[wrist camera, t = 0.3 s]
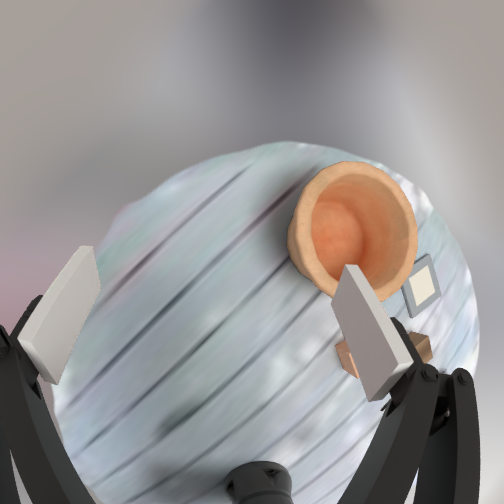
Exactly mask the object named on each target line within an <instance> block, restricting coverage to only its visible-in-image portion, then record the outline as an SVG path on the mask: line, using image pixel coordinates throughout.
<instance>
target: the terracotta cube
mask: <svg viewBox="0 0 504 504" xmlns="http://www.w3.org/2000/svg"><path fill="white" fill-rule="evenodd" d="M335 347H336V350H337V352H338V355H339V358H340V360H341V363H342V366H343V368H344V370H346V371H347V372H348V373H350V374H351V375H353V376H354V377H356V378H357V379H358V378H359V374H358V371H357V369H356V366H355V363H354V361H353V358H352V356H351V353H350V350H349V348H348V345H347V343H346V340H344V341H343V342H341V343H339V344H337V345H336V346H335Z"/></svg>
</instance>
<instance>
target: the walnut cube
mask: <svg viewBox="0 0 504 504" xmlns="http://www.w3.org/2000/svg"><path fill="white" fill-rule="evenodd" d="M408 336H409V337H410V341H412V343H413V344H414V346H415V348H416V350H417V352H418V353H419V355H420V357H421V359H422V361H423V362H424V363H427V362H428V361H429V360H430V359H432V358H433V356H432V351H431V346H430V341H429V336H427V335H423V334H419V333H415V332H411V333H410V334H408Z"/></svg>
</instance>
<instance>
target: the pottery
mask: <svg viewBox="0 0 504 504" xmlns="http://www.w3.org/2000/svg"><path fill="white" fill-rule="evenodd" d="M287 248H288V252H289V255H290V259H291V261H292V262H293V264H294V265H295V267H296V268H297V269H298V271H299V272H300V273H301V274H302V275H304V276H305V277H307V278H308V279H309V280H311V281H312V282H313V283H314V285H315V286H316V287H317V288H318V289H320V290H321V291H322V292H324V293H325V294H327V295H328V296H330V297H331V298H333V297H334V294H335V291H336V289H337V286H338V283H339V280H340V278H341V275H342V272H343V269H344V266H345V264H348V265H358V267H359V268H360V270H361V271H362V273H363V275H364V276H365V278H366V279H367V281H368V282H369V284H370V286H371V287H372V289H373V291H374V292H375V294H376V296H377V297H378V299H379V301H380V302H383V301H384V300H385V299H387V298H388V297H390V296H391V295H392V294H394V293H395V292H396V291H398V290H399V289H400V288H401V286H402V285H403V283H404V282H405V280H406V279H407V277H408V276H409V274H410V273H411V271H412V268H413V264H414V261H415V257H416V253H417V250H418V243H417V224H416V220H415V217H414V213H413V210H412V207H411V204H410V202H409V201H408V199H407V197H406V196H405V194H404V192H403V191H402V189H401V188H400V186H399V185H398V184H397V183H396V182H395V181H394V180H393V179H392V178H391V177H389V176H388V175H387V174H386V173H385V172H384V171H382V170H380V169H378V168H376V167H374V166H371V165H369V164H367V163H364V162H349V161H341V162H339V163H336V164H334V165H331V166H329V167H326V168H324V169H322V170H321V171H319V172H318V174H317V175H316V176H315V177H314V178H313V179H312V180H311V181H310V182H309V183H308V184H307V185H306V186H305V187H304V188H303V191H302V193H301V195H300V198H299V200H298V203H297V205H296V208H295V210H294V215H293V216H292V219H291V221H290V224H289V226H288V228H287Z"/></svg>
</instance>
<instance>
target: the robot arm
mask: <svg viewBox="0 0 504 504" xmlns="http://www.w3.org/2000/svg"><path fill="white" fill-rule="evenodd" d="M101 289H102V288H101V283H100V279H99V274H98V270H97V265H96V260H95V254H94V249H93V246H80V247H79V249H78V250H77V251H76V252H75V254H74V255H73V256H72V258H71V259H70V260H69V261H68V263H67V264H66V265H65V267H64V268H63V269H62V271H61V272H60V273H59V275H58V276H57V278H56V279H55V280H54V281H53V283H52V284H51V286H50V287H49V289H48V290H47V291H46V293H45V295H44V296H43V295H39V296H37V297H36V298H35V299H34V300H32V302H31V303H30V304H29V306H28V307H27V310H26V311H25V312H24V313H23V315H22V317H21V318H20V320H19V321H18V323H17V325H16V326H15V328H14V329H13V331H12V333H11V334H10V336H9V335H8V334H7V332H6V330H5V328H4V327H3V326H2V325H0V504H21V502H20V499H19V495H18V491H17V486H16V482H15V478H14V473H13V467H12V461H11V454H10V450H11V453H12V456H13V459H14V462H15V464H16V467H17V469H18V472H19V475H20V477H21V479H22V482H23V484H24V486H25V489H26V491H27V493H28V495H29V497H30V499H31V501H32V503H33V504H96V503H95V502H94V500H93V499H92V497H91V496H90V494H89V493H88V491H87V489H86V488H85V486H84V484H83V483H82V481H81V479H80V477H79V476H78V474H77V472H76V470H75V468H74V467H73V465H72V463H71V461H70V459H69V457H68V455H67V453H66V451H65V449H64V447H63V444H62V442H61V440H60V438H59V436H58V433H57V431H56V429H55V426H54V424H53V421H52V419H51V416H50V414H49V411H48V408H47V406H46V403H45V400H44V397H43V394H42V391H41V388H40V385H39V382H38V381H37V377H38V374H40V375H41V377H42V378H43V379H44V381H46V382H49V383H52V384H55V385H58V384H59V381H60V379H61V376H62V373H63V371H64V368H65V366H66V364H67V361H68V359H69V356H70V354H71V352H72V349H73V347H74V345H75V342H76V340H77V338H78V336H79V334H80V331H81V329H82V327H83V325H84V323H85V321H86V319H87V317H88V315H89V313H90V311H91V309H92V307H93V305H94V303H95V301H96V299H97V297H98V295H99V293H100V291H101ZM331 306H332V308H333V310H334V313H335V315H336V318H337V320H338V323H339V325H340V328H341V330H342V333H343V335H344V338H345V340H346V343H347V345H348V348H349V350H350V353H351V356H352V358H353V361H354V363H355V366H356V369H357V371H358V374H359V377H360V380H361V382H362V385H363V388H364V391H365V393H366V396H367V399H368V402H371V401H377V400H382V399H383V398H384V397H385V396H386V395H387V394H388V393H390V395H391V399H390V400H389V401H388V402H387V403H386V404H385V405H384V406H383V408H382V409H381V410H380V411H383V410H384V409H385V408H386V409H385V412H384V414H383V416H382V419H381V421H380V424H379V426H378V428H377V430H376V433H375V435H374V437H373V439H372V441H371V443H370V446H369V448H368V450H367V452H366V454H365V456H364V458H363V460H362V462H361V463H360V465H359V467H358V469H357V471H356V473H355V475H354V476H353V478H352V480H351V482H350V483H349V485H348V487H347V488H346V490H345V492H344V493H343V495H342V497H341V498H340V500H339V501H338V503H337V504H404V502H405V500H406V498H407V495H408V493H409V491H410V488H411V486H412V483H413V481H414V478H415V475H416V473H417V470H418V467H419V470H418V477H417V484H416V491H415V496H414V502H413V504H478V499H479V486H480V435H479V422H478V411H477V403H476V396H475V389H474V382H473V379H472V376H471V375H470V373H469V372H468V371H467V370H465V369H463V368H457V369H455V370H454V371H453V373H452V374H451V375H447V374H439V372H438V370H437V369H436V368H435V367H433V366H432V365H430V364H427V363H424V362H423V361H422V359H421V357H420V355H419V353H418V352H417V350H416V348H415V346H414V344H413V343H412V341H410V337H409V336H408V334H407V332H406V330H405V329H404V327H403V325H402V324H401V323H400V322H399V321H398V320H397V319H396V318H395V317H390V318H389V316H388V314H387V312H386V311H385V309H384V307H383V306H382V304H381V302H380V301H379V299H378V297H377V296H376V294H375V292H374V291H373V289H372V287H371V286H370V284H369V282H368V281H367V279H366V278H365V276H364V275H363V273H362V271H361V270H360V268H359V267H358V265H348V264H345V266H344V269H343V272H342V275H341V278H340V280H339V283H338V286H337V289H336V291H335V294H334V297H333V299H332V302H331ZM448 411H449V416H448ZM224 487H225V493H226V495H227V497H228V498H229V500H230V501H231V503H232V504H294V503H293V501H292V499H291V488H292V480H291V477H290V475H289V473H288V471H287V470H286V469H285V468H284V467H283V466H281V465H279V464H276V463H273V462H253V463H248V464H245V465H242V466H240V467H238V468H236V469H234V470H233V471H232V472H231V473H230V474H229V475H228V476H227V477H226V479H225V482H224Z"/></svg>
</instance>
